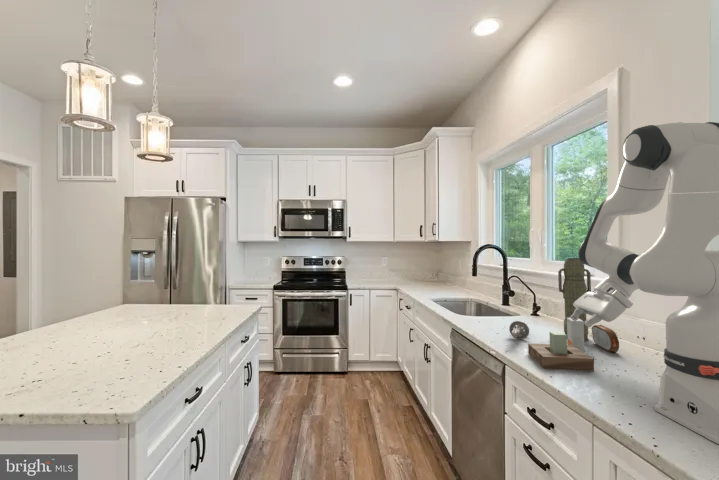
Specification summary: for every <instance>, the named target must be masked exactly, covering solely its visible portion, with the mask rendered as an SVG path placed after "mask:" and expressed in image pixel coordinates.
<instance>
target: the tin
mask: <svg viewBox="0 0 719 480" xmlns="http://www.w3.org/2000/svg"><path fill="white" fill-rule="evenodd" d="M591 335H592V337H591V338H592V340H593V342H594V343H595V345H596V346H597V347H599V348H601V349H604V350H605V351H606V352H607V353H608V352H611V353H612V352H613V353H614V352H615V353H617V352H618V351H619V349H620V341H619V338H618V335H617V333H616V332H615V331H614V330H613V329H611V328H609V327H607V326H604V325H603V324H597V325H596V324H593V325H592V326H591Z"/></svg>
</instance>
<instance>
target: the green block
mask: <svg viewBox="0 0 719 480" xmlns="http://www.w3.org/2000/svg"><path fill="white" fill-rule="evenodd" d="M549 344H550V352H551V353H555V354H567V345H568V339H567V335H566V334H565V332H564V331H563V332H562V331H549Z"/></svg>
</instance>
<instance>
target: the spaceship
mask: <svg viewBox="0 0 719 480" xmlns="http://www.w3.org/2000/svg"><path fill="white" fill-rule="evenodd" d="M509 333H510V335H511V337H513V338H514V339H517V340H524V339H526V338H528V336H529V334H530V328H529V326H528V323H526V322H525V321H521V320H515V321H513V322H511V323H510V325H509Z"/></svg>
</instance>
